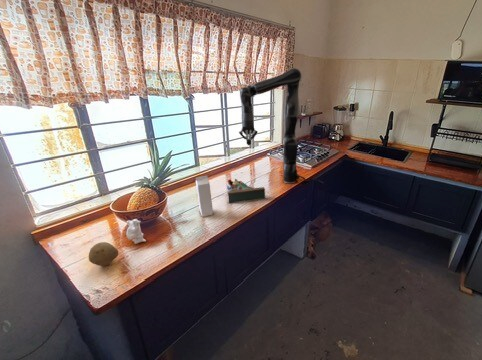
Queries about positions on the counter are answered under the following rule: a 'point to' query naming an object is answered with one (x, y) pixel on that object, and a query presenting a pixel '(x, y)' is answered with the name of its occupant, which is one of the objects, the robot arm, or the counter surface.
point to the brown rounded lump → (102, 254)
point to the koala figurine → (134, 231)
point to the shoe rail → (246, 194)
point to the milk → (204, 195)
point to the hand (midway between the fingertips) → (248, 144)
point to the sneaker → (236, 185)
